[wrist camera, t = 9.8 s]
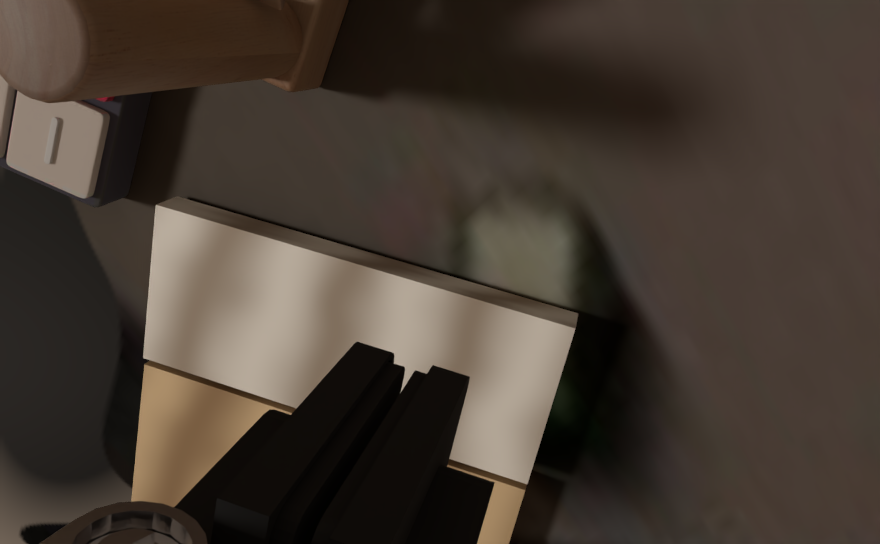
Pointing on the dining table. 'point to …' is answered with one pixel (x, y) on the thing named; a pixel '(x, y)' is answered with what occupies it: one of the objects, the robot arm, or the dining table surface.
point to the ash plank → (348, 325)
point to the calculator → (73, 142)
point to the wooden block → (163, 45)
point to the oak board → (222, 424)
